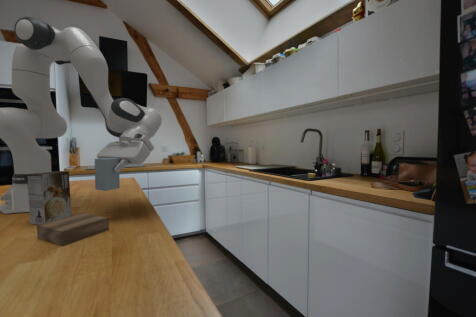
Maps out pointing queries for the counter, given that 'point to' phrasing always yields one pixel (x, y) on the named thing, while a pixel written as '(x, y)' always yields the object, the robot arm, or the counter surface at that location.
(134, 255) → the counter surface
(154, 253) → the counter surface
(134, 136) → the robot arm
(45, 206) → the coffee box
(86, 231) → the walnut slab
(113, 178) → the slate block
